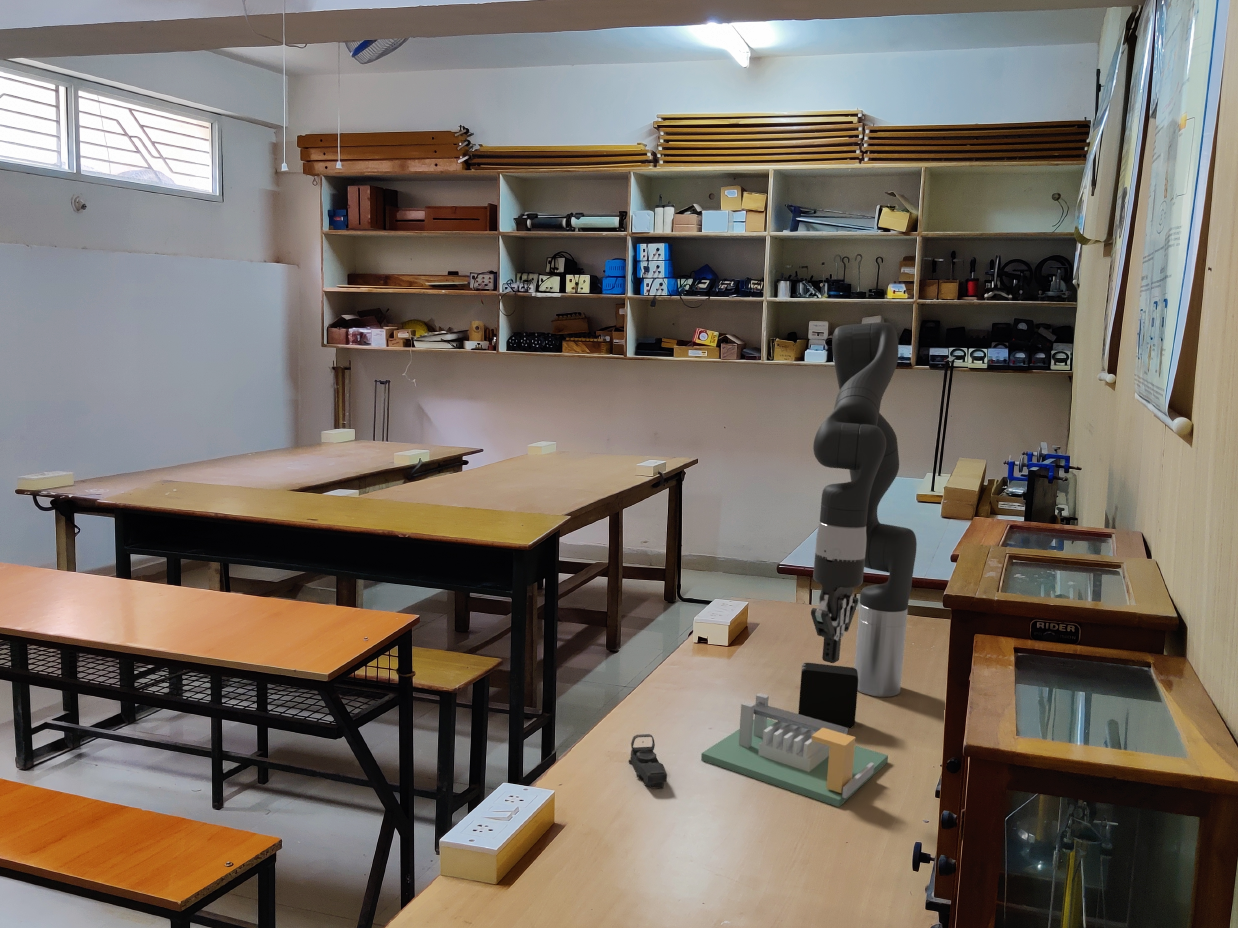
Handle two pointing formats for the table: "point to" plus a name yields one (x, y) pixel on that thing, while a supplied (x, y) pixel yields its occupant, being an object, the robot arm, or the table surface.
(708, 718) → the table surface
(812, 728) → the strap
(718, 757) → the slotted rack on board
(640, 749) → the reflex sight
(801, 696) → the electronic device
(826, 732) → the clip
